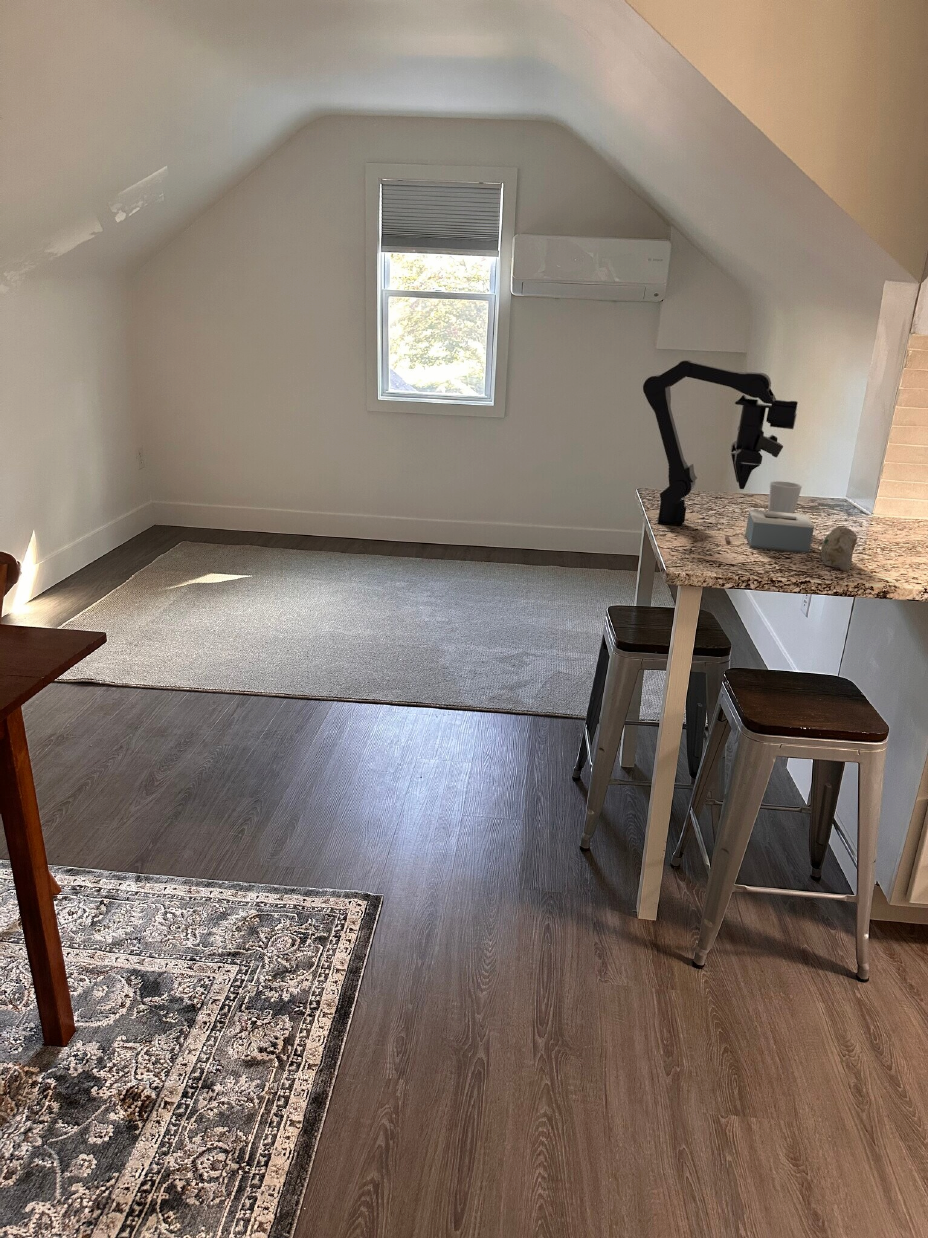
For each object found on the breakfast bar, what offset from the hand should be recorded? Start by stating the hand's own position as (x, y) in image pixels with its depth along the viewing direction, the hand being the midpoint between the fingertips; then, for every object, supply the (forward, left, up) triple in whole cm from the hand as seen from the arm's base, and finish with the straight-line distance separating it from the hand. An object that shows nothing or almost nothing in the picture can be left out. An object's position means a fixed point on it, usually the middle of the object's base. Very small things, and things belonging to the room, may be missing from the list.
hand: (740, 485), depth 234 cm
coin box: (+10, -10, -12) cm, 18 cm away
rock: (+21, -24, -13) cm, 35 cm away
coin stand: (-6, -12, -12) cm, 18 cm away
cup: (+13, +9, -13) cm, 20 cm away
